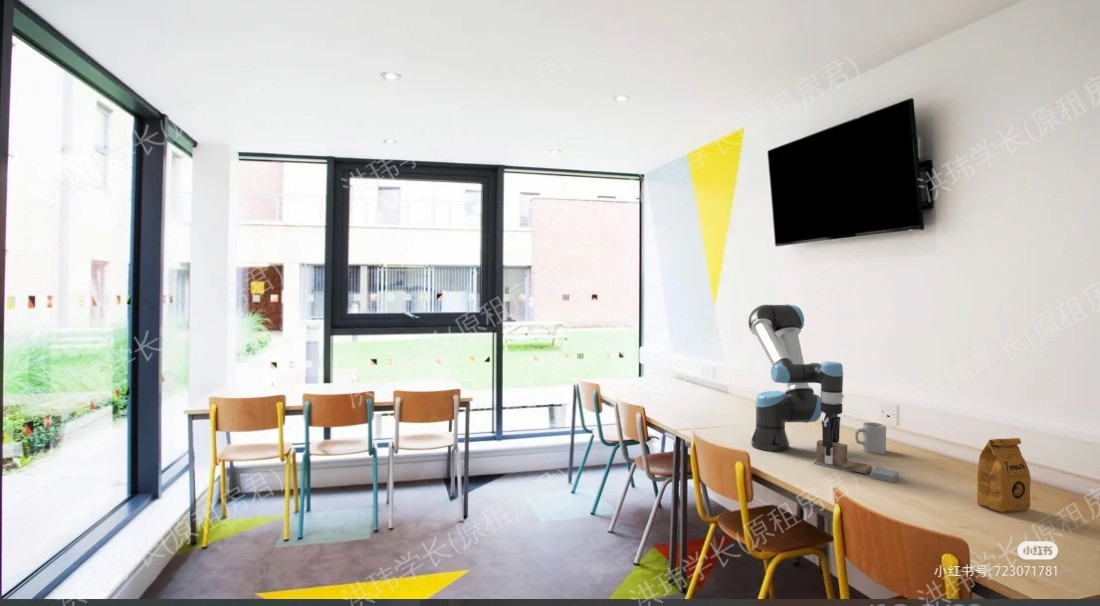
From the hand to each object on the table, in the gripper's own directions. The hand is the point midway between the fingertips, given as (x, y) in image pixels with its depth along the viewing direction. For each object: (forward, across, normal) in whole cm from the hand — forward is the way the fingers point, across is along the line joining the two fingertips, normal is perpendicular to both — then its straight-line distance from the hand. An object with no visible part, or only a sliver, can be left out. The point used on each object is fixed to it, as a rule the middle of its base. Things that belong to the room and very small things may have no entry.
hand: (830, 462), depth 218 cm
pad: (+1, 0, -2) cm, 2 cm away
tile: (0, +2, -19) cm, 19 cm away
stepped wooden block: (0, 0, -4) cm, 4 cm away
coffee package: (+1, -7, -53) cm, 54 cm away
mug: (+1, +31, -5) cm, 31 cm away
